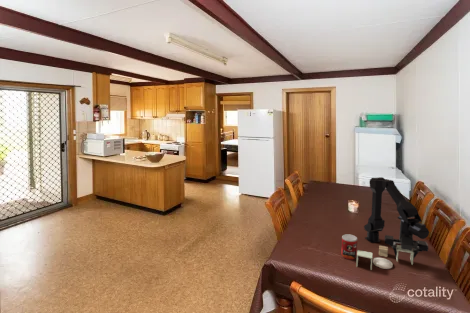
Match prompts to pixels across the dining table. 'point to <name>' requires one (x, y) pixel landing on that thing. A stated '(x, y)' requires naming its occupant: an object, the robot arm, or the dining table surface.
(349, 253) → the canned food
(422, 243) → the robot arm
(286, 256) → the dining table surface
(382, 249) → the block
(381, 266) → the saucer
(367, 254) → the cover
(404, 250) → the cover
